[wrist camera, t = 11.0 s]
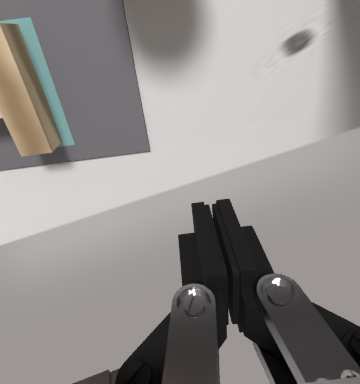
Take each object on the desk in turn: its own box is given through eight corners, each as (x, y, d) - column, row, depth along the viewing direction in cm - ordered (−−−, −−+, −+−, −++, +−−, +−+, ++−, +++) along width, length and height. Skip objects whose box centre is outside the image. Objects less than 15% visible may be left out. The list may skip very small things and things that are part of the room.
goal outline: (31, 17, 29) (30, 17, 29) (75, 143, 37) (74, 144, 37) (-83, 32, 29) (-85, 32, 29) (-14, 155, 37) (-15, 156, 37)
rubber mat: (117, -23, 28) (117, -23, 27) (149, 150, 38) (149, 150, 38) (-139, 11, 28) (-142, 11, 28) (-36, 174, 39) (-38, 175, 38)
